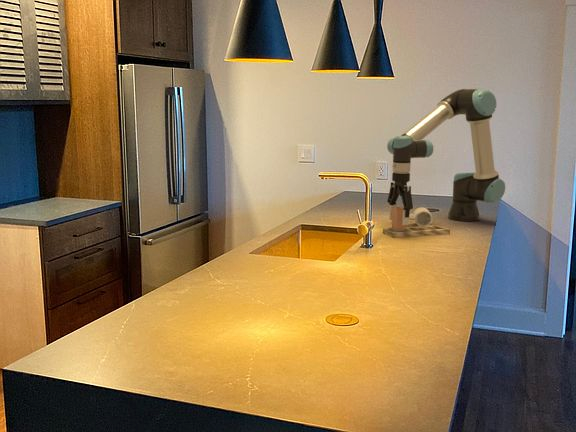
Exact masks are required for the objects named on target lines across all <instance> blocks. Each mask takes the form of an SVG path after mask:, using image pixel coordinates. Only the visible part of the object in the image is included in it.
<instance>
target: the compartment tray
mask: <svg viewBox="0 0 576 432" xmlns="http://www.w3.org/2000/svg"><path fill="white" fill-rule="evenodd" d="M382 234H385V235H387V236H388V237H391V238H394V239H395V238H409V237H410V238H412V237H425V236H440V235H451V229H449V228H447V227H445V226H442V225H439V224H436V225H430V226H418V225H417V226H406V231H393V230H392V227H390V228H388V227H387V228H382Z"/></svg>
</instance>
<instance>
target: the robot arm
mask: <svg viewBox="0 0 576 432" xmlns="http://www.w3.org/2000/svg"><path fill="white" fill-rule="evenodd" d="M436 105H437V106H436V107H435V108H433V109H432V110H431V111H430V112H428V114H426V115H425V116H423V117H422V118H421V119H420V120H419V121H418V122H416V123H415V124H414V125H412V126H411V127H410V128H408V130H407V131H404V133H402V134H401V135H398V136H397V135H396V136H395V137H392V138H390V139H389V140H388V141H387V143H386V145H387V146H386V148H387V151H388V152H389V153H390V154H392V165H391V166H392V171H393V172H392V173H391V174H392V175H391V181H392V182H390V188H389V193H388V195H387V203H388V204H389V220H390V221H392V207H397V201H398V198H399V196H400V197H401V201H402V205H403V206H402V207H404V209H403V223H402V225H406V226H409V225H410V219H409V214H410V213H411V210H413V208H414V206H413V197H412V187H411V185H407V184H408V183H409V182H410V181H411V173H410V172H411V163H412V162H411V159H413V158H414V159H418V158H420V159H421V158H423V159H425V158H430V157H431V156H432V155H433V153H434V144H433V142H432V141H430V140H428V139H427V140H426V139H425V138H426V137H427V136H429V135H430V134H431V133H432V132H433V131H434V130H436V129H437V128H438V127H440V125H442V124H443V123H444V122H446V121H447V120H452V119H453V118H454V117H456V116H459V115H465V120H466V122H467V123H469V127H470V135H471V142H472V150H473V158H474V159H473V160H474V161H473V162H474V167H475V169H474V170H475V172H458V173H456V174H454V177H453V185H452V186H453V187H452V202H451V206H450V208H449V211H448V214H447V218H448V219H449V220H453V221H459V222H460V221H461V222H477V221H479V220H480V212H479V208H478V202H479V201H480V202H483V203H484V202H485V203H488V204H489V203H491V204H495V203H498V202H499V201H501V199H502V198H503V196H504V194H505V193H506V183H505V181H504V180H503V179H502V178H500V175H499V171H497V170H495V169H496V168H495V163H494V161H495V160H494V154H493V153H494V152H493V143H492V135H491V133H492V132H491V125H490V120H491V119H492V118H493V114H494V113H495V111H496V108H497V98H496V96H495V94H494V93H493V92H492V91H491V90H490V89H484V88H483V89H482V88H469V89H468V88H463V89H458V90H455V91H454V92H451V93H449V94H448V95H446V96H445V97H443V99H441V100H440V101H439V102H438V103H437V104H436ZM477 201H478V202H477Z"/></svg>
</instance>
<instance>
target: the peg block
mask: <svg viewBox="0 0 576 432" xmlns="http://www.w3.org/2000/svg"><path fill="white" fill-rule="evenodd" d="M403 209H404V206H396V207H392V220H391V228H392V230H393V231H406V227H407V225H402V223H403Z"/></svg>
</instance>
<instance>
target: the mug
mask: <svg viewBox="0 0 576 432" xmlns="http://www.w3.org/2000/svg"><path fill="white" fill-rule="evenodd" d="M410 220H411V221H414V223H415V224H416V225H417V226H432V225H431V224H433V223H432V222H433V215H432V214H431V212H430V210H428V208H425V207H424V206H423V207H422V206H421V207H418V208H416V209H415V210H414V211H413V213H411V214H410V213H409V221H410Z"/></svg>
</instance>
